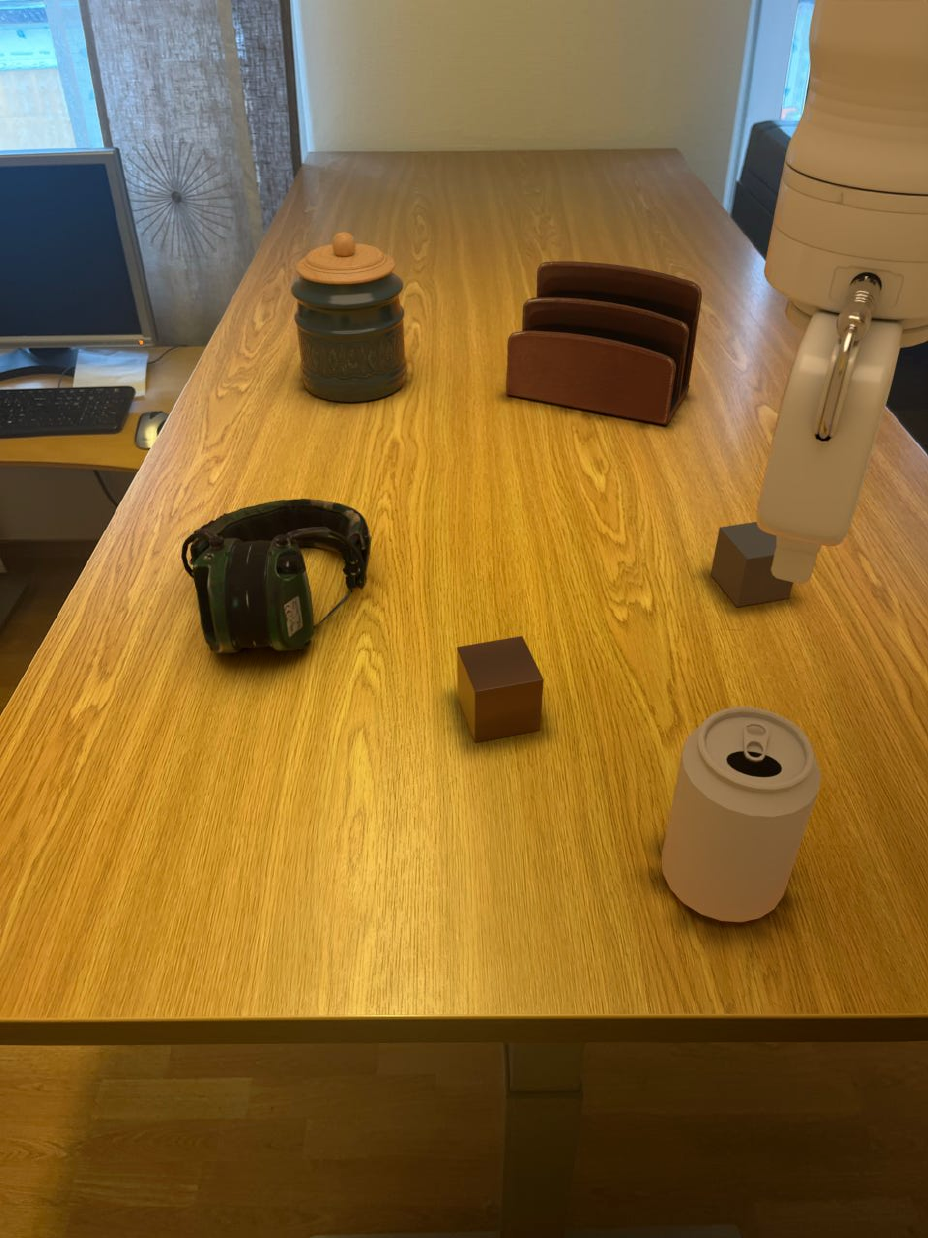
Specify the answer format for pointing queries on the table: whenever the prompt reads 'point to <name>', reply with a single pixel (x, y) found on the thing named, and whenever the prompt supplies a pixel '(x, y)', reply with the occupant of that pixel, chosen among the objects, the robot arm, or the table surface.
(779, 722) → the can
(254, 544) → the headphones
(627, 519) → the table surface
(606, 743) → the table surface
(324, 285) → the canister
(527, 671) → the walnut block
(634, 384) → the letter holder
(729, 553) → the slate block
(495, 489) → the table surface
